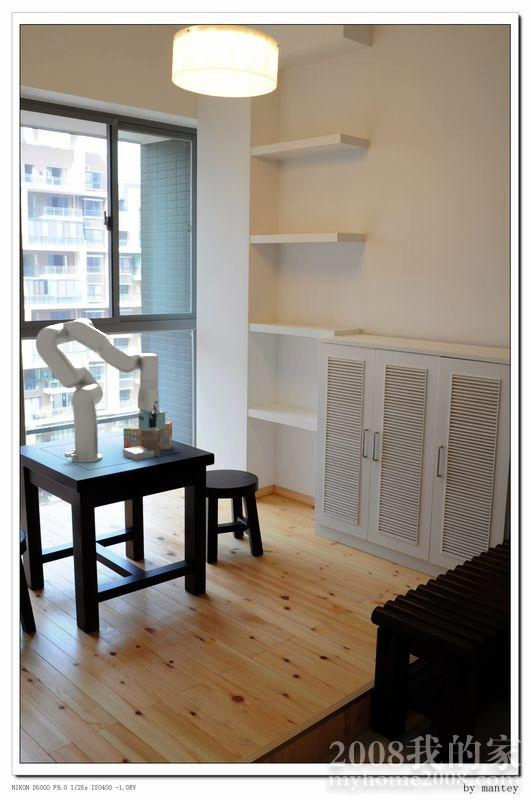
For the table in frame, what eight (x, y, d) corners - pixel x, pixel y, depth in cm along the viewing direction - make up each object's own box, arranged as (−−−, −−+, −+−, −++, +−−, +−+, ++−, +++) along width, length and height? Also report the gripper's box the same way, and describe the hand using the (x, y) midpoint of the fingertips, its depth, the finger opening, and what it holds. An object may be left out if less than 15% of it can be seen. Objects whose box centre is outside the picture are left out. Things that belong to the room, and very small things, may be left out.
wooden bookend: (137, 460, 320) (136, 433, 317) (122, 455, 328) (121, 428, 326) (160, 456, 327) (160, 429, 325) (145, 450, 336) (144, 424, 334)
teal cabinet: (143, 431, 311) (143, 414, 309) (136, 428, 314) (137, 412, 313) (165, 427, 318) (165, 411, 317) (158, 425, 322) (158, 409, 320)
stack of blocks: (123, 448, 340) (122, 421, 338) (127, 444, 346) (126, 418, 344) (169, 449, 339) (169, 423, 336) (172, 446, 345) (172, 420, 342)
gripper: (130, 381, 315) (130, 423, 319) (153, 387, 303) (152, 431, 307) (145, 379, 320) (145, 421, 324) (168, 385, 308) (167, 428, 312)
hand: (148, 425), depth 315 cm, fingers closed on teal cabinet, 5 cm apart
